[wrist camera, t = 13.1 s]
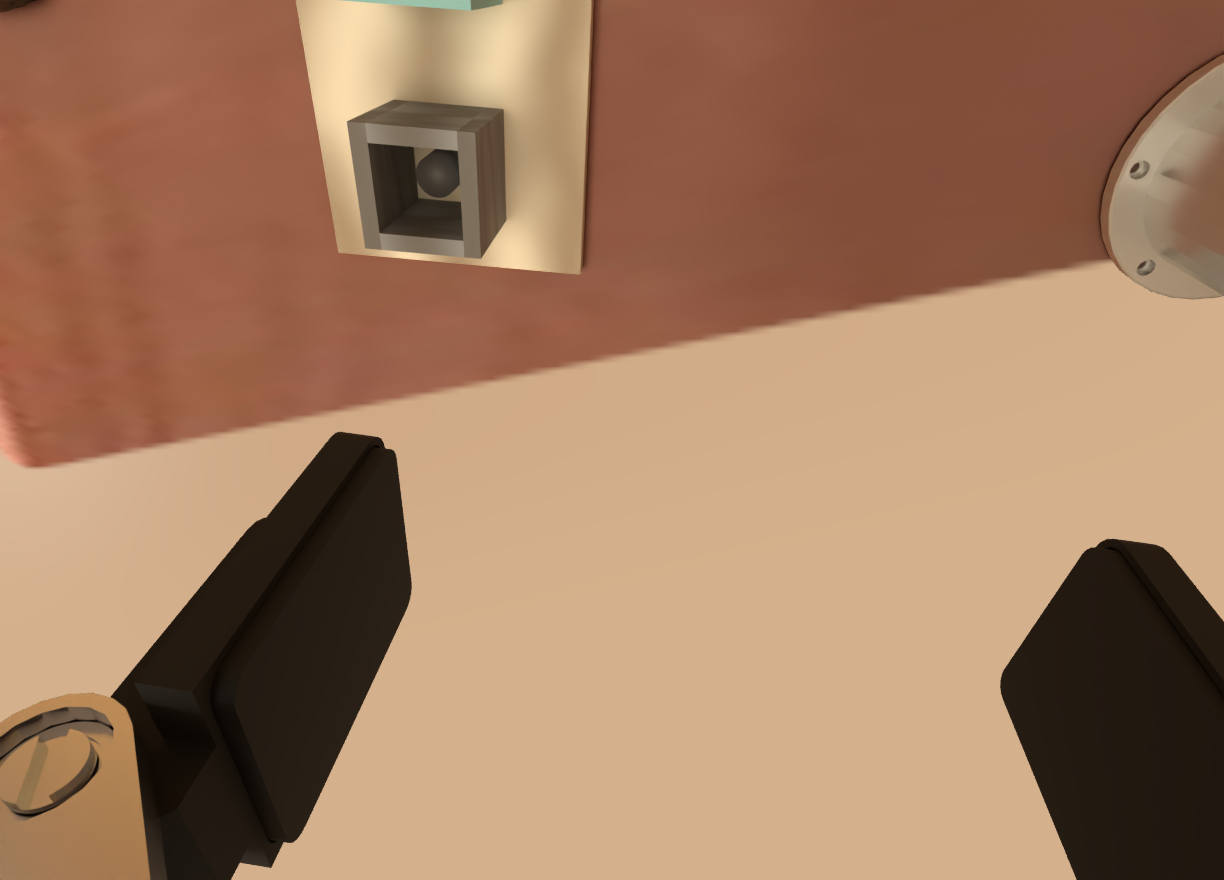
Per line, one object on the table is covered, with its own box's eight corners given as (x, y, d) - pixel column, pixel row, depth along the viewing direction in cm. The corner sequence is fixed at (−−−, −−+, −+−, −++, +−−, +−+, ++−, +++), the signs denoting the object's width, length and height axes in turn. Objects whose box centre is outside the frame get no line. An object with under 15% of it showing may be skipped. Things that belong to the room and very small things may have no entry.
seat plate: (605, -264, 27) (586, -328, 21) (582, 267, 40) (566, 319, 34) (260, -289, 27) (147, -359, 22) (346, 245, 40) (290, 293, 34)
